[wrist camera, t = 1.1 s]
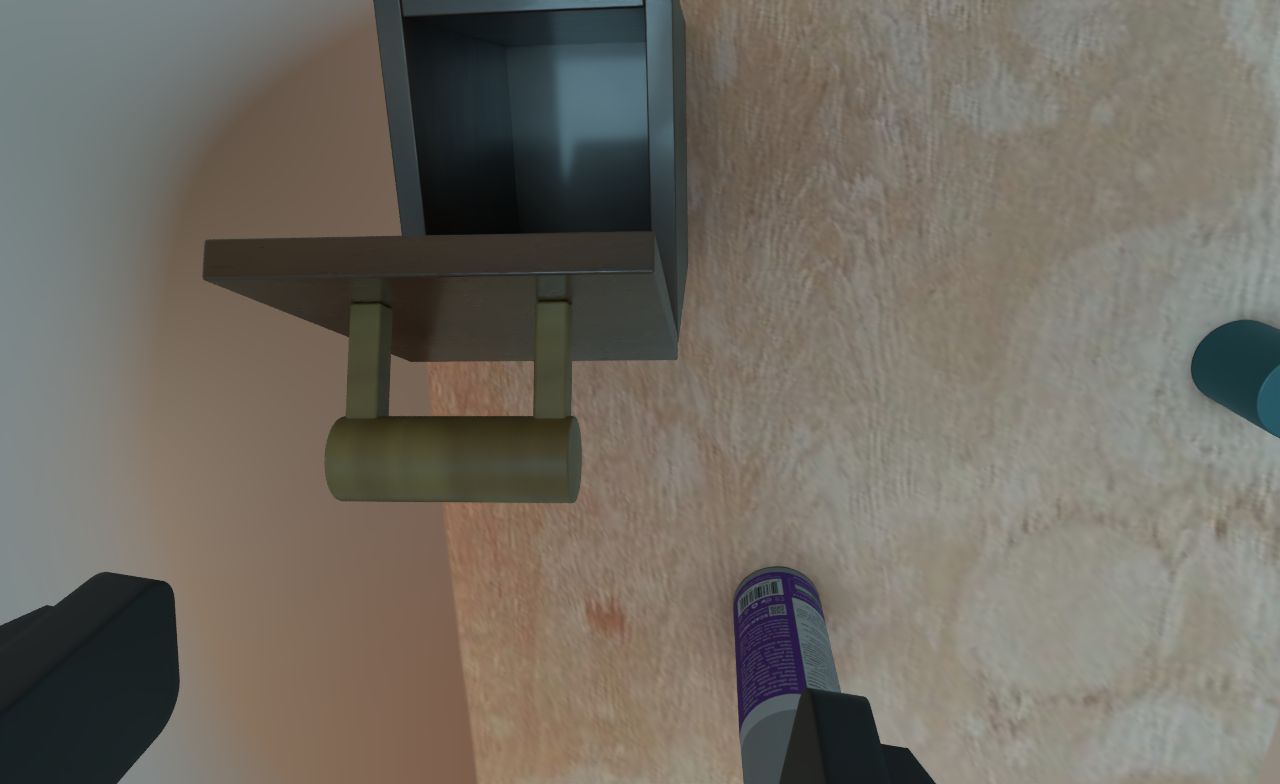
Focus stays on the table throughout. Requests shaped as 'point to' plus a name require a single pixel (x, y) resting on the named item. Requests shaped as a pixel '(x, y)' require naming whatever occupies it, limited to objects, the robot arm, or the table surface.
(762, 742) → the container
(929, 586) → the table surface
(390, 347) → the lid
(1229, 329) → the teal cylinder
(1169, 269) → the table surface
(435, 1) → the chest
